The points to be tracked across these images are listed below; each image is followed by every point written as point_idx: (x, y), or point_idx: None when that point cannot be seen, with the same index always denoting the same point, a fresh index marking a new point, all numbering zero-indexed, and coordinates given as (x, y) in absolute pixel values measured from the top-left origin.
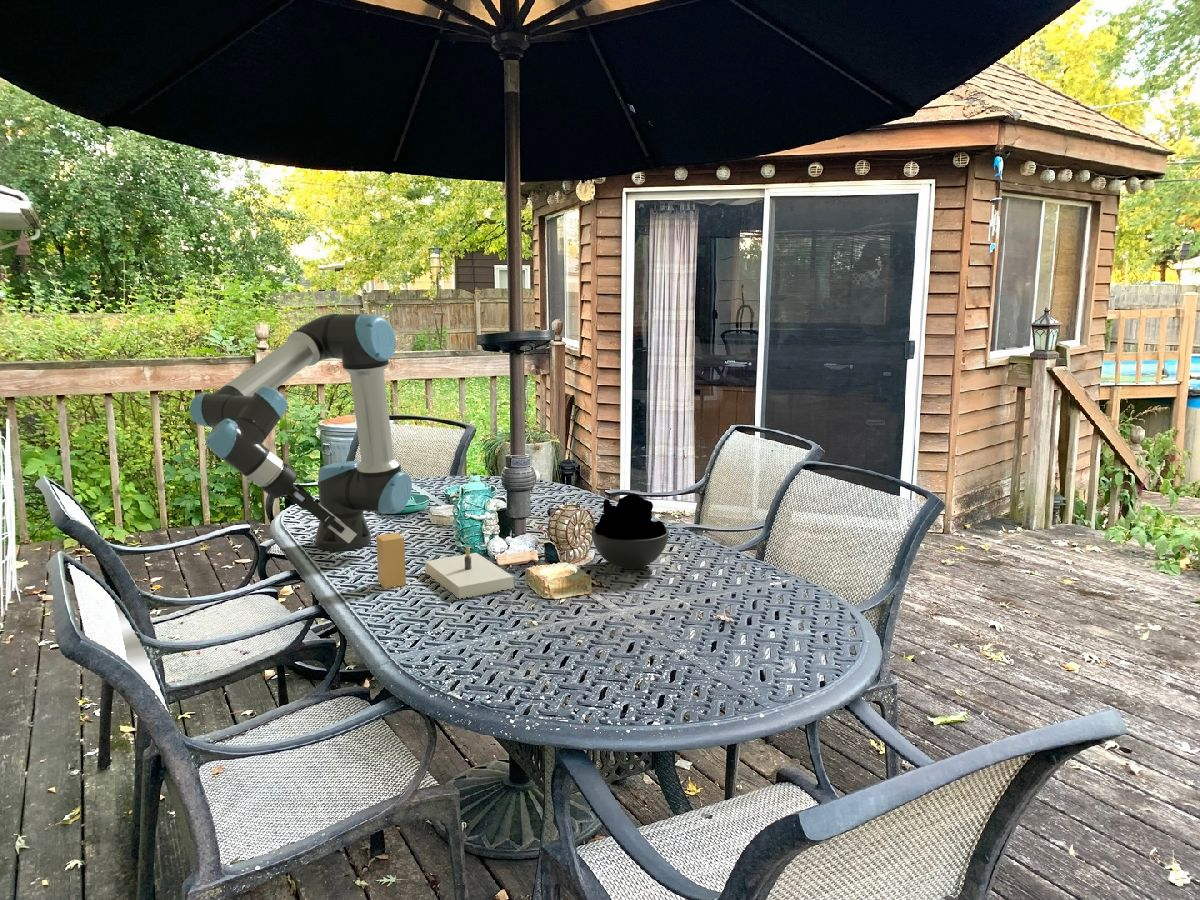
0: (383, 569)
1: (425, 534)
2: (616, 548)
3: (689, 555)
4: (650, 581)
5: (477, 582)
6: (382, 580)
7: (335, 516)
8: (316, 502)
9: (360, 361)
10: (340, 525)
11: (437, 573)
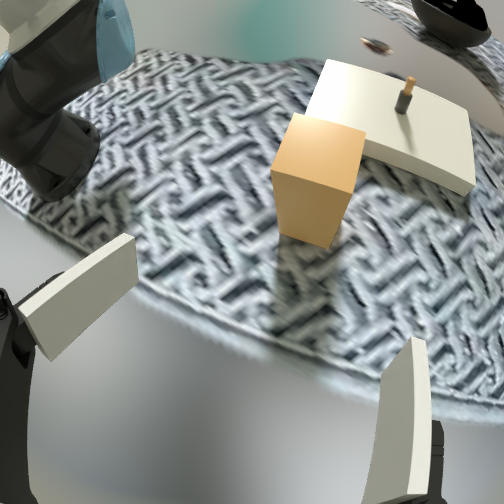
0: (331, 232)
1: (147, 67)
2: (480, 39)
3: None
4: (485, 63)
5: (470, 153)
6: (314, 239)
7: (109, 254)
8: (8, 331)
9: None
10: (442, 455)
11: (373, 145)
